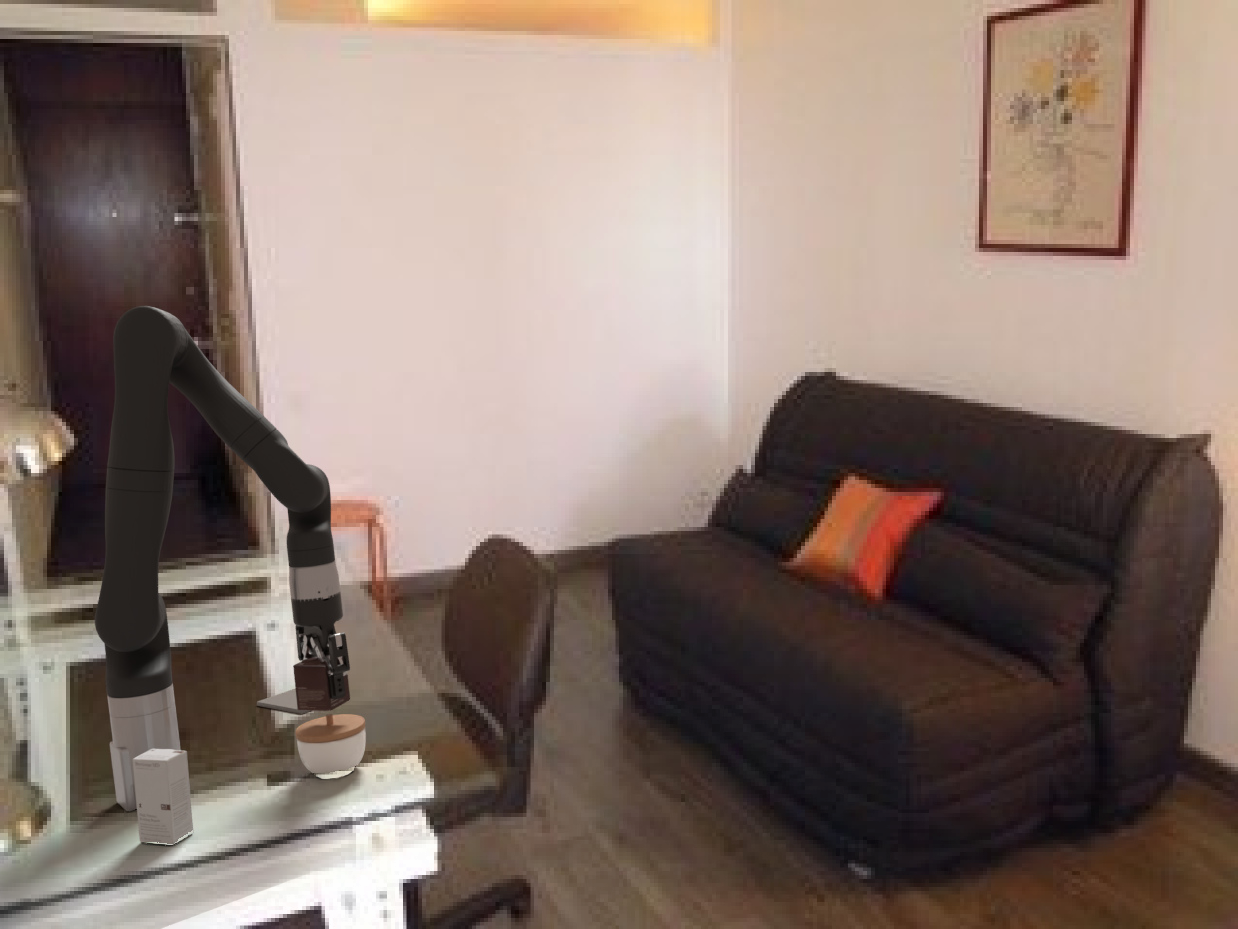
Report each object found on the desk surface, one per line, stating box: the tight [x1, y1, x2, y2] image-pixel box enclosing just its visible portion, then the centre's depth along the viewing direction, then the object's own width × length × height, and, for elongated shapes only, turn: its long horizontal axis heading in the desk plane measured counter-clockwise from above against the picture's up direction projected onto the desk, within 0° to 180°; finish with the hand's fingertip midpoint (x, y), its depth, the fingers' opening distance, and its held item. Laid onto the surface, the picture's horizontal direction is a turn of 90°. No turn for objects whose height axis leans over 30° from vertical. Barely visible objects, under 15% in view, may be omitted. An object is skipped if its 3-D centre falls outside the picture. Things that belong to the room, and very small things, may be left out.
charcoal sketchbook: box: [256, 688, 310, 715], centre depth 209 cm, size 10×14×1 cm
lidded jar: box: [294, 713, 367, 774], centre depth 168 cm, size 11×11×9 cm
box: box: [292, 656, 351, 712], centre depth 167 cm, size 6×6×7 cm
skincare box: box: [132, 749, 194, 844], centre depth 147 cm, size 6×4×12 cm
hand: (326, 693), depth 168 cm, fingers closed on box, 8 cm apart
